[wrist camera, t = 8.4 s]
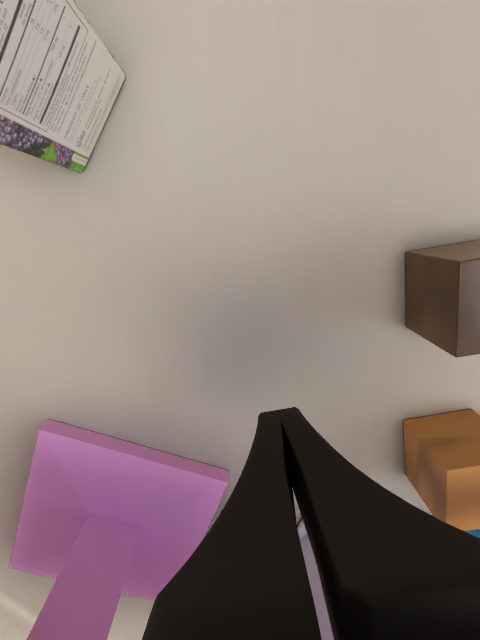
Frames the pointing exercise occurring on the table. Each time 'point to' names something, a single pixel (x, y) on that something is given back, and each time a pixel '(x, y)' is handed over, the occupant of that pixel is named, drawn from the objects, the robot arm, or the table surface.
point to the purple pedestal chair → (107, 524)
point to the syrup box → (53, 81)
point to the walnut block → (445, 296)
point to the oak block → (446, 465)
